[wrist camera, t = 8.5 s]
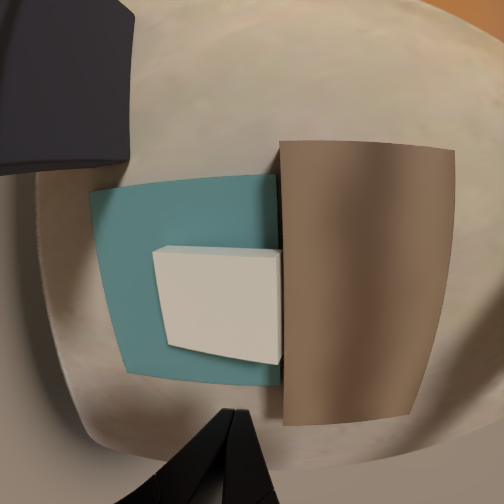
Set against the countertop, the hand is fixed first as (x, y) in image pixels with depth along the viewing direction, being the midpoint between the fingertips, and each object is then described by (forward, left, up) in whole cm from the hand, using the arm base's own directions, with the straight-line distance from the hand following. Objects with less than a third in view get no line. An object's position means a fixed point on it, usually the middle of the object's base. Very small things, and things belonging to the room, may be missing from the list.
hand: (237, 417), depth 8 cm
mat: (+5, 0, -10) cm, 11 cm away
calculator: (+9, -14, -10) cm, 20 cm away
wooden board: (-6, 0, -10) cm, 12 cm away
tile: (+2, 0, -8) cm, 8 cm away
